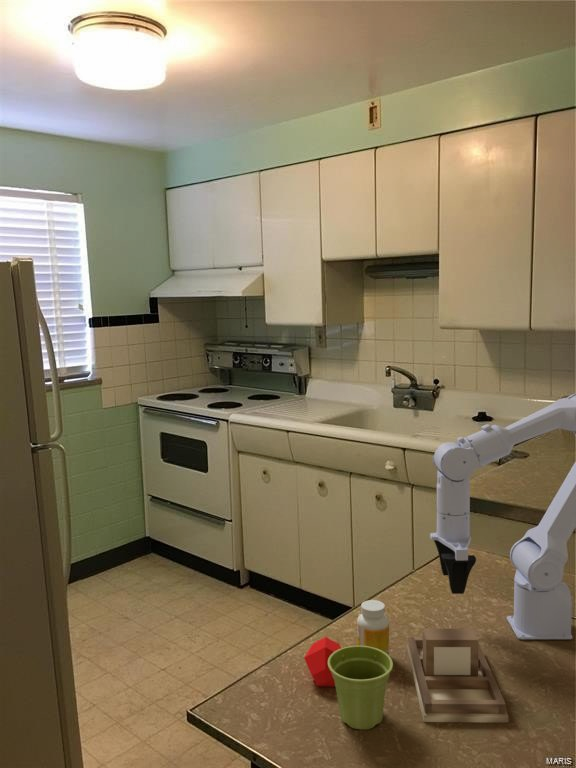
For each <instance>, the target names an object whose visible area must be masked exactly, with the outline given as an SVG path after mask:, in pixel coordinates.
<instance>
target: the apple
mask: <svg viewBox="0 0 576 768" xmlns="http://www.w3.org/2000/svg"><path fill="white" fill-rule="evenodd" d="M341 648H342V646H341V645H340V643H338V642H336V641H335V640H332V639H331V638H329V637H328V636H324V637H322V638H321V639H319V640H317V641H315V642H313V643H312V644H311V646H310V647H309V649H308V651H307V653H306V654H305V656H304V657H303V658H304V661H305V663H306V665H307V667H308V670H309V672H310V675H311V677H312V678H313V680H314V682H315V684H316V686H317V687H329V688H331V687H332V688H333V687H336V686H335V681H334V678H333V676H332V672H331V671H330V669H329V667H328V659H329V657H330V655H331V654H332V653H333V652H335V651H337V650H338V649H341Z"/></svg>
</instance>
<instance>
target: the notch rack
mask: <svg viewBox="0 0 576 768" xmlns="http://www.w3.org/2000/svg"><path fill="white" fill-rule="evenodd" d="M407 639H408V641H407V643H406V653H407V656H408V661H409V664H410V668H411V673H412V678H413V683H414V685H415V690H416V694H417V698H418V704H419V708H420V711H421V716H422V720H423V722H424V723H494V724H497V723H498V724H499V723H500V724H501V723H506V724H507V723H509V715H508V712H507V710H506V709H507V704H506V701H505V700H504V697H503V694H502V693H501V690H500V688H499V686H498V683H497V681H496V679H495V677H494V674H493V672H492V670H491V668H490V666H489V664H488V662H487V659H486V657H485V654H484V652H483V650H482V647H481V646H480V644H479V642H478V677H451V676H424V672H423V636H409V637H408V638H407Z"/></svg>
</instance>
